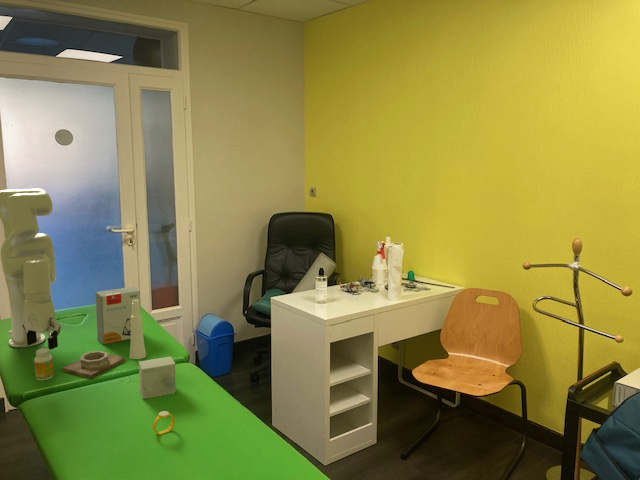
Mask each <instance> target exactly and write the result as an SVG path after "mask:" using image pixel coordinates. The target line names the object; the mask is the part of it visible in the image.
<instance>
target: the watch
mask: <svg viewBox="0 0 640 480" xmlns="http://www.w3.org/2000/svg"><path fill="white" fill-rule="evenodd" d="M157 414H158V415H157V416H156V417H155V418H154V421H153V423H152V429H153V432H154V433H155V434H157V435H158V436H161V435H165V434H167V433H170V432H171V431H172V430H173V428H174V427H175V422H176V421H175V417H174V416H173V415H172V414H171V413H170V412H169V411H167V410H163V411H160V412H158V413H157ZM168 417H170V419H171V421H170V424H169V426H168V427H167V428H166V429H163V430H161V431H157V429H156V428H157V424H158V422H159V421H160V420H161V419H166V418H168Z"/></svg>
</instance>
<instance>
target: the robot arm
mask: <svg viewBox="0 0 640 480" xmlns="http://www.w3.org/2000/svg"><path fill="white" fill-rule="evenodd" d="M53 206H54V205H53V200H52V198H51V196H50V194H49V193H48V192H46V190H44V189H42V188H29V189H28V188H24V189H22V188H21V189H20V188H19V189H18V188H17V189H3V190H0V220H1V223H2V226H3V233H4V240H3V242H2V244H1V247H0V261H1V265H2V266H1V267H2V272H3V274H4V275H3V276H4V280H5V284H6V286H7V291H8V292H7V293H8V298H9V308H10V320H11V328H10V329H11V330H9V331H7V334H8V335H9V336H10V335H11V338H10V339H9V340H8V345H9V346H10V347H13V348H29V347H34V346H37V345H39V344H41V343H44V341H45V340H46V336H45V334H43V333H46V335H47V336H48V338H47V345H48V347H47V348H48V349H49V351H51V350H53V349H55V348H58V347H59V343H58V336H59V334H60V332H61V329H62V325H61V324H60V323H59V322H58V321H57V317H56V312H55V307H54V303H53V300H52V286H51V285H53V284H54V283H55V282H56V280H57V268H56V261H55V260H56V259H55V250H54V243H53V240H52V238H51V236H50V235H49V234H47V233H39V232H40V228H39V224H38V220H37V218H38V217H45V216H50V215H51V214H52V213H53V208H54V207H53Z"/></svg>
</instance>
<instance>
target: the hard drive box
mask: <svg viewBox="0 0 640 480" xmlns="http://www.w3.org/2000/svg"><path fill="white" fill-rule="evenodd" d="M135 299H137V300H139V303H140V304H141V291H140V290H139V289H138V288H136V287H135V286H128V287H122V288H115V289H107V290H100V291H95V308H96V309H95V310H96V312H95V313H96V332H97V340H98V341H99V342H100V343H101V344H102V345H106V344H107V345H108V344H113V343H116V342H121V341H126V340H131V315H132V303H133V302H132V300H135ZM141 311H142V310H141V309H140V315H141V314H142V313H141ZM141 316H142V315H141Z"/></svg>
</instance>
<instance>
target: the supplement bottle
mask: <svg viewBox="0 0 640 480" xmlns="http://www.w3.org/2000/svg"><path fill="white" fill-rule="evenodd" d="M50 352H51V351H50V350H49V349H48V347H44V348H42V347H41V348H39V349H37V350H36V351H35V355H36V356H35V357H34V360H33V361H34V372H35V373H34V374H35V379H36V380H37V381H46V380H50V379H52V378H53V377H54V362H53V360H54V359H53V356H52V354H51V353H50Z"/></svg>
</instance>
